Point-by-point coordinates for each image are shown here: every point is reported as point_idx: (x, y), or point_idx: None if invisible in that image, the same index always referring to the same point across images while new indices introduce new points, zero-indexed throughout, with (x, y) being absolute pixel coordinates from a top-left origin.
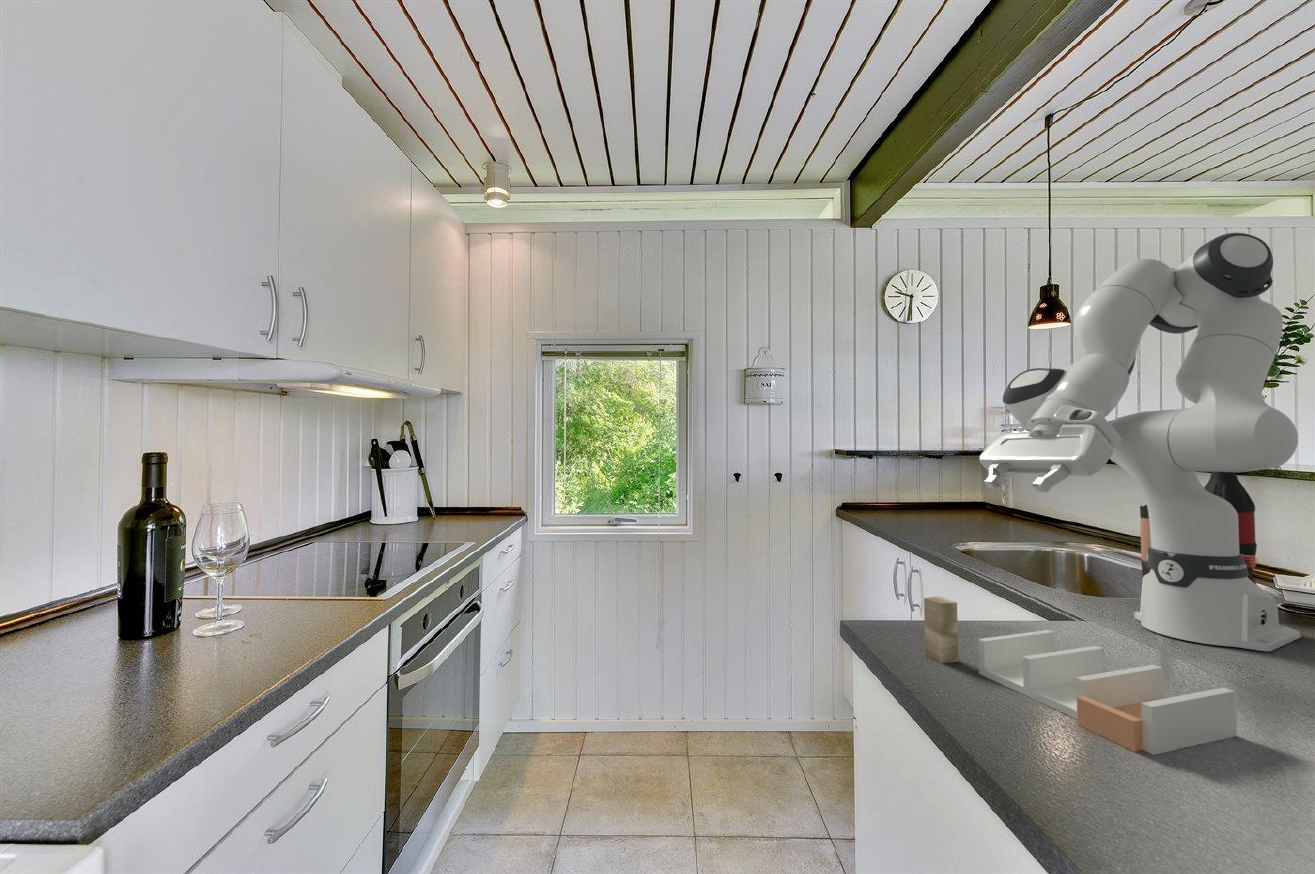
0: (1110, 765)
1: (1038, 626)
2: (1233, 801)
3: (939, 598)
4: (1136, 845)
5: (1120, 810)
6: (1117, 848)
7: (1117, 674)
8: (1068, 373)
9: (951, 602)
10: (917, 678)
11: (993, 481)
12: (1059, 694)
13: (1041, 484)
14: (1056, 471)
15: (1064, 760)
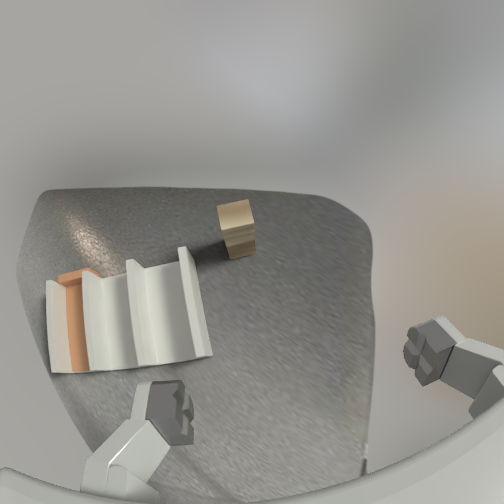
0: (65, 253)
1: (343, 434)
2: (35, 287)
3: (243, 217)
4: (36, 217)
5: (46, 227)
6: (38, 208)
7: (84, 312)
8: None
9: (221, 222)
10: (195, 200)
11: (416, 338)
12: (126, 288)
13: (138, 386)
14: (95, 453)
15: (75, 231)
